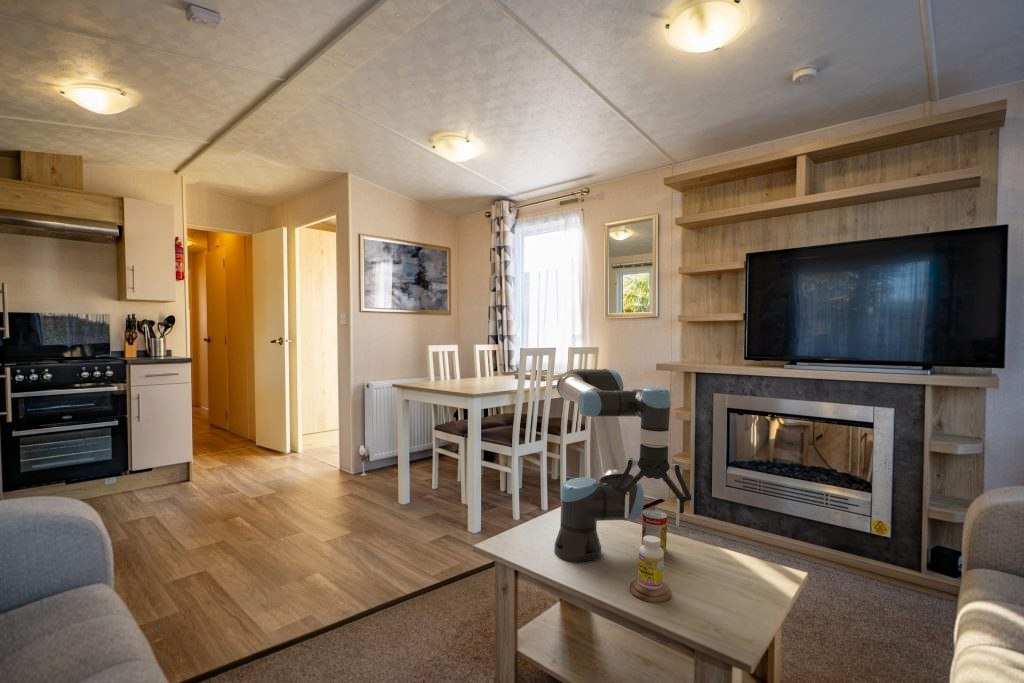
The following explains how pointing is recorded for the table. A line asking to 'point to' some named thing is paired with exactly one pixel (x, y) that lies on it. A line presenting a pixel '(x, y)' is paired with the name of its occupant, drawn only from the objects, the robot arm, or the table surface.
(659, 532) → the canned food
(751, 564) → the table surface
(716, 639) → the table surface
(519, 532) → the table surface
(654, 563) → the supplement bottle
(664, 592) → the plinth
